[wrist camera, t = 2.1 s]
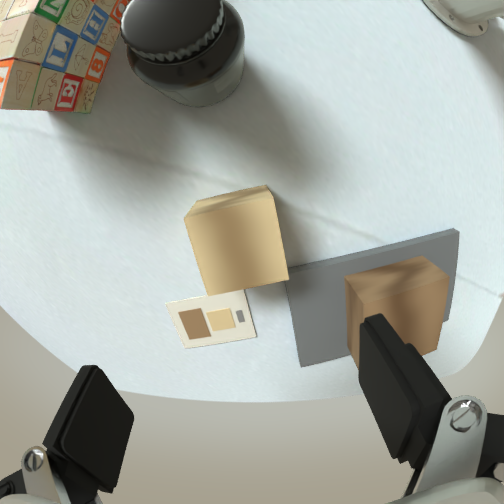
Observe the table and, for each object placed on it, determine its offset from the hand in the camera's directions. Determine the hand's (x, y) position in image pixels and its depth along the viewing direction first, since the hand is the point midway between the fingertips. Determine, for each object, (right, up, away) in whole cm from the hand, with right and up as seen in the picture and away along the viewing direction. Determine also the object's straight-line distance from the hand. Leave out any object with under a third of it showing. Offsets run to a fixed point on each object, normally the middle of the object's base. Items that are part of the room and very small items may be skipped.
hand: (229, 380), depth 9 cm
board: (+15, -1, +19) cm, 24 cm away
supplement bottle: (-3, +19, +11) cm, 23 cm away
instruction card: (-3, -3, +19) cm, 20 cm away
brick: (+15, -1, +18) cm, 23 cm away
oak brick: (0, +7, +16) cm, 17 cm away
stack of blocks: (-14, +27, +8) cm, 31 cm away
